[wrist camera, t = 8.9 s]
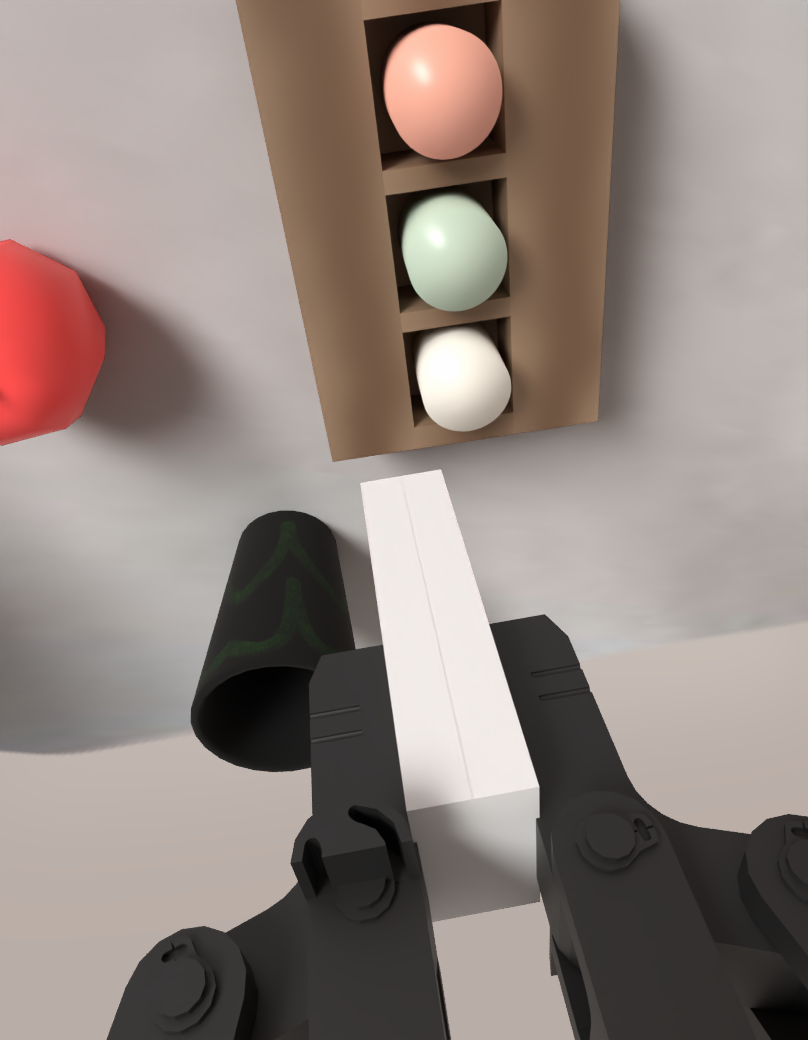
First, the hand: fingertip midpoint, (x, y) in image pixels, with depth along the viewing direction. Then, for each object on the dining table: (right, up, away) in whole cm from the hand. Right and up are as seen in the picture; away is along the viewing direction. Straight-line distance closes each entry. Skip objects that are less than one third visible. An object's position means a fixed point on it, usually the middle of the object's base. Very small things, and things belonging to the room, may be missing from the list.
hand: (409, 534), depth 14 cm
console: (+1, +13, +17) cm, 22 cm away
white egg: (+2, +8, +18) cm, 20 cm away
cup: (-7, -1, +28) cm, 29 cm away
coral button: (+1, +16, +12) cm, 20 cm away
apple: (-17, +10, +18) cm, 27 cm away
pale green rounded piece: (+1, +12, +15) cm, 19 cm away
